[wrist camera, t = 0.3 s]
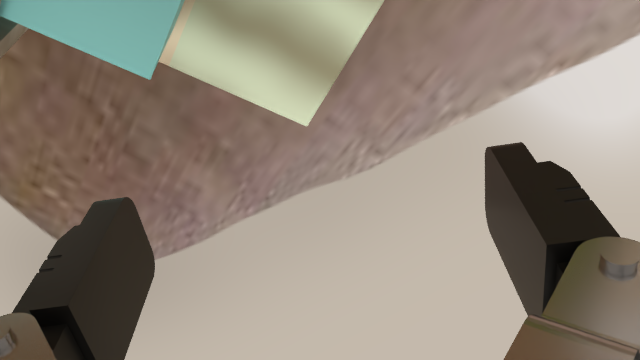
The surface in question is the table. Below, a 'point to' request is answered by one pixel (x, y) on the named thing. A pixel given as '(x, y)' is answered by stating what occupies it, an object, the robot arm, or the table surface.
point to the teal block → (103, 27)
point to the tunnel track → (260, 47)
